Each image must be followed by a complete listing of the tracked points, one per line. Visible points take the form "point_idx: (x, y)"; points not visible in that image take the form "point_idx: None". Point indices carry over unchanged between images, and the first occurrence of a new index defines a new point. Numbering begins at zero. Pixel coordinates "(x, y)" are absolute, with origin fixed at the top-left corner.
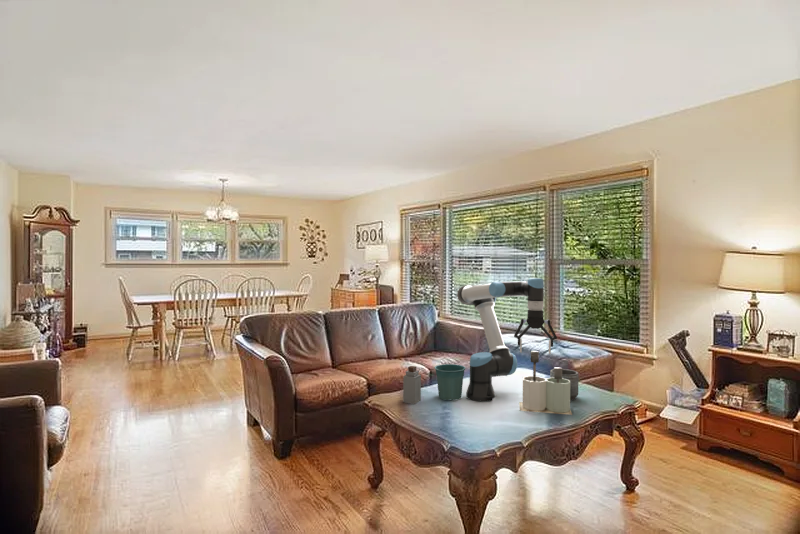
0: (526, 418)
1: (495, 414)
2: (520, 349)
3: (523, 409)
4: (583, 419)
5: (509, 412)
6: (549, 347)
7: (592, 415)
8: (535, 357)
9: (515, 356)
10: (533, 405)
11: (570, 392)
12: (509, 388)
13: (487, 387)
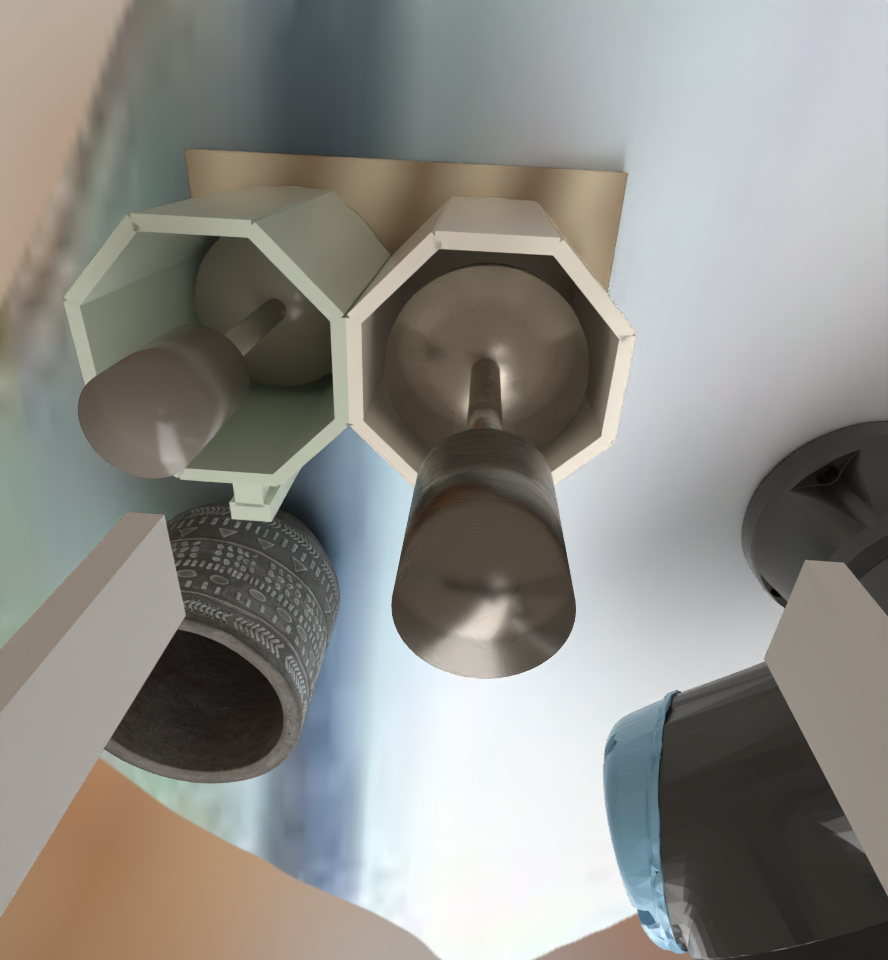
0: (588, 11)
1: (865, 75)
2: (875, 612)
3: (586, 215)
4: (105, 109)
5: (711, 172)
6: (66, 618)
7: (51, 239)
8: (477, 474)
9: (630, 884)
10: (505, 202)
11: (184, 522)
12: (590, 714)
13: (876, 510)
